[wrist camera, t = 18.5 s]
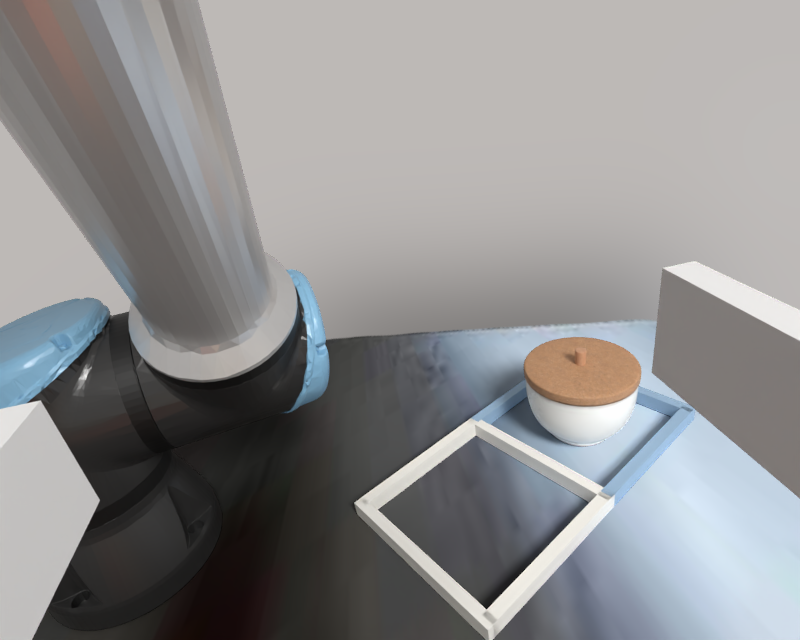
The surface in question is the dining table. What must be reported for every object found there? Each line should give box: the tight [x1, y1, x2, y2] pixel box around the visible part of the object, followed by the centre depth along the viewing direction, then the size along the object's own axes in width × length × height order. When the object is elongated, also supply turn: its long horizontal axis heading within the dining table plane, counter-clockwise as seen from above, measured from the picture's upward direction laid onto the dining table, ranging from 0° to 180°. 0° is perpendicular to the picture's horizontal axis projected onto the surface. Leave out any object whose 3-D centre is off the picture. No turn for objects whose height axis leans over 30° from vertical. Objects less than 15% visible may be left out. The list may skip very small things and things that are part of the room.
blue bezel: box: [472, 379, 695, 506], centre depth 52 cm, size 16×16×2 cm
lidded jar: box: [524, 337, 641, 446], centre depth 50 cm, size 11×11×9 cm
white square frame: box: [354, 418, 615, 640], centre depth 44 cm, size 16×16×2 cm
